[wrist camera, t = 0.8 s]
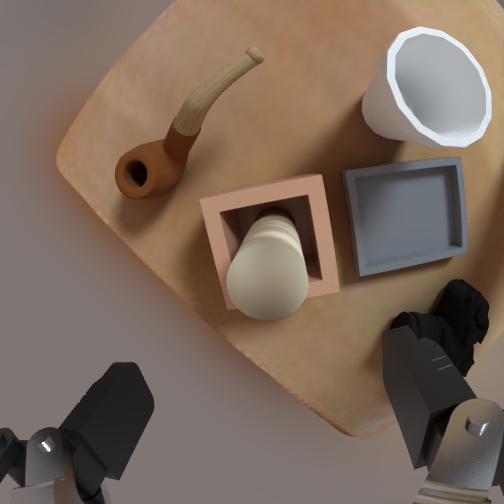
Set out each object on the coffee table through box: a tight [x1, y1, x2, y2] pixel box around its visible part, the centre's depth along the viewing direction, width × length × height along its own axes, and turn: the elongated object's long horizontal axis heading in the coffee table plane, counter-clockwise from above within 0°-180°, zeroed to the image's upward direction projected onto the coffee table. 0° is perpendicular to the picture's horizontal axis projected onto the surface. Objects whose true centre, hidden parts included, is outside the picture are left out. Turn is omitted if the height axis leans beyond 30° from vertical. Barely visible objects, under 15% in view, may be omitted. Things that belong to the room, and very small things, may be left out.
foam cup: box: [361, 27, 491, 148], centre depth 21 cm, size 10×9×13 cm
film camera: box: [390, 279, 489, 377], centre depth 30 cm, size 15×10×9 cm, turn 165°
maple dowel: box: [226, 206, 309, 321], centre depth 24 cm, size 4×4×16 cm
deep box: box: [200, 173, 340, 310], centre depth 28 cm, size 10×10×9 cm
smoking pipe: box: [115, 47, 264, 199], centre depth 25 cm, size 7×18×6 cm
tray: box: [341, 157, 467, 277], centre depth 29 cm, size 14×11×2 cm
